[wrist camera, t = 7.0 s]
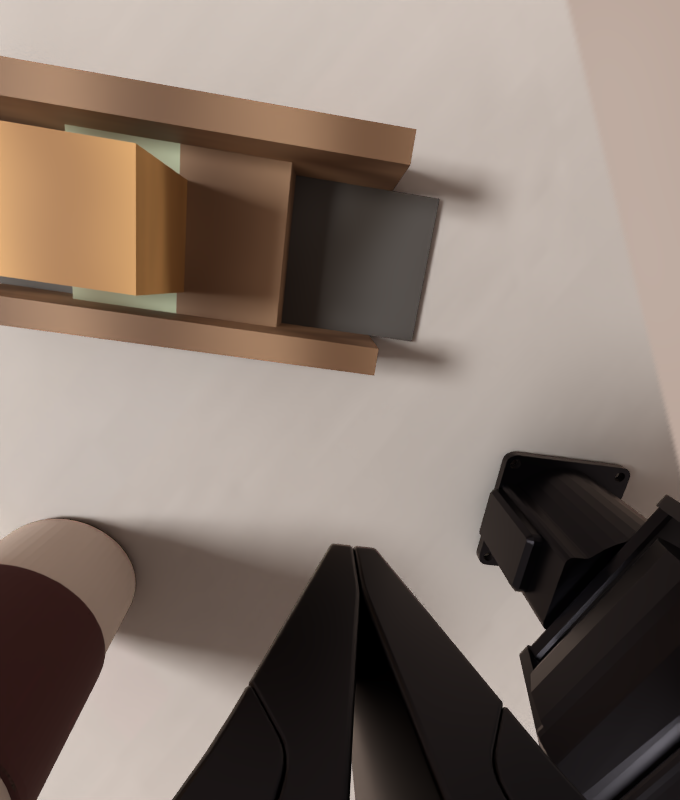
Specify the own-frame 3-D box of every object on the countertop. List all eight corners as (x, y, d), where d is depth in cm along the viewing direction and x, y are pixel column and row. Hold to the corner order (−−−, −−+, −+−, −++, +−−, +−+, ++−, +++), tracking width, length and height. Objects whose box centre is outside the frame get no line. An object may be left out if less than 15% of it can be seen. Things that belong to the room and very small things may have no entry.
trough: (443, 173, 16) (477, 140, 12) (406, 361, 19) (426, 382, 15) (-66, 87, 15) (-201, 20, 11) (-39, 300, 17) (-143, 305, 13)
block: (187, 179, 14) (135, 143, 11) (183, 292, 16) (135, 295, 12) (74, 161, 14) (-21, 117, 10) (79, 276, 15) (-5, 275, 11)
